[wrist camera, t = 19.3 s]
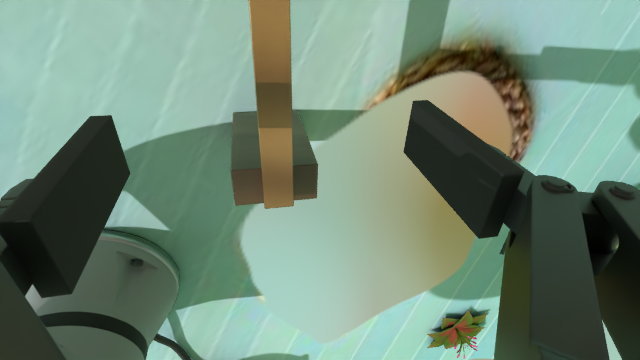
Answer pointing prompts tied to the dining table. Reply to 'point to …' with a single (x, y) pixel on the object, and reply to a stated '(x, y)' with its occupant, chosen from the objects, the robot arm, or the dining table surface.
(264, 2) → the ladle
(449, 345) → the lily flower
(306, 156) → the dark upright slab
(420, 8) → the dining table surface
